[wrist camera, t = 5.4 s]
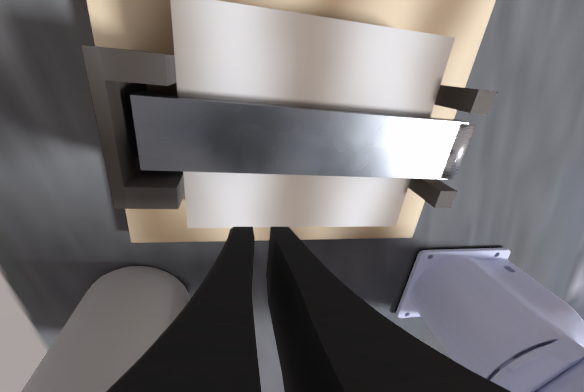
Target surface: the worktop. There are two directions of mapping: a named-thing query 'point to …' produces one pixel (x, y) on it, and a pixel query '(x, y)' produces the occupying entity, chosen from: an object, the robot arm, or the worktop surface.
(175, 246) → the worktop surface
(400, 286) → the worktop surface
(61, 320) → the worktop surface
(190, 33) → the board
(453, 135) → the retention strap
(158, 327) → the cup
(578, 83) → the worktop surface
